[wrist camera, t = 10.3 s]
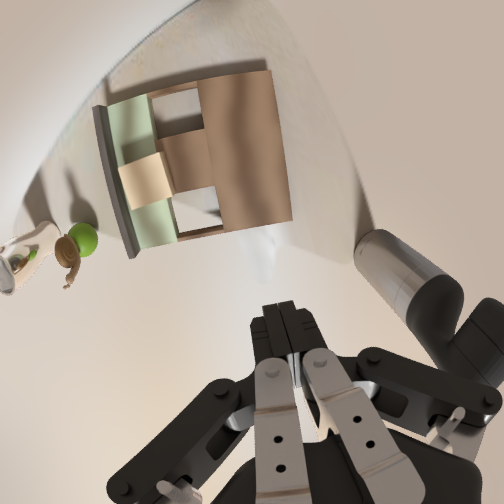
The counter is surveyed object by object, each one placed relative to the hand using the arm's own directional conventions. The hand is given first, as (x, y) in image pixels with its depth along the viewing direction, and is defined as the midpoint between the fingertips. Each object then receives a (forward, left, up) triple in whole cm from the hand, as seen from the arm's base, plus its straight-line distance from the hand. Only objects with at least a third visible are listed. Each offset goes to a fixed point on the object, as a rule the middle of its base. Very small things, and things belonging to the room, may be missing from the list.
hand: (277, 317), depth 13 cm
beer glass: (+25, +24, -29) cm, 45 cm away
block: (+12, +5, -26) cm, 29 cm away
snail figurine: (+17, +19, -29) cm, 39 cm away
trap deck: (+8, -1, -29) cm, 30 cm away
